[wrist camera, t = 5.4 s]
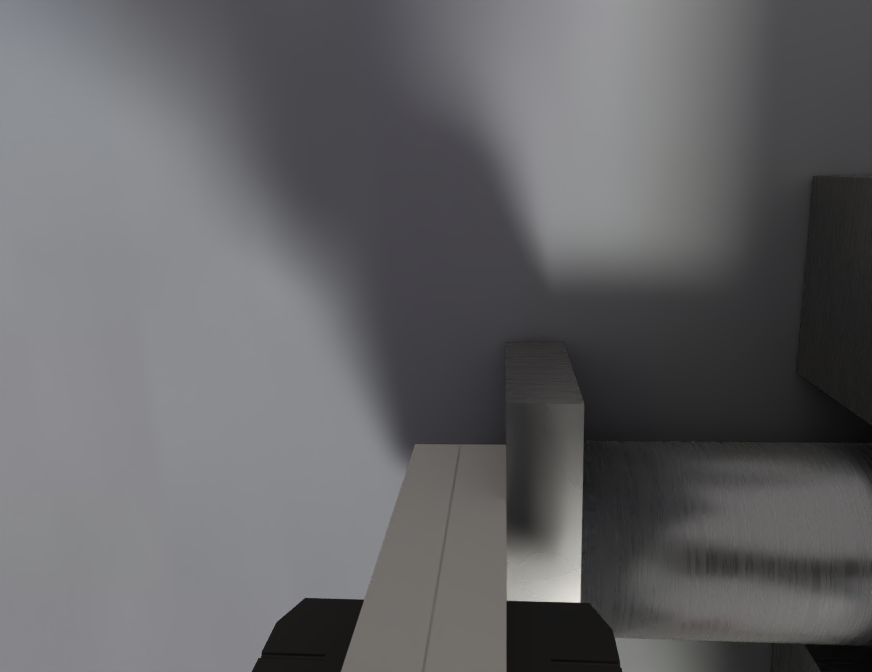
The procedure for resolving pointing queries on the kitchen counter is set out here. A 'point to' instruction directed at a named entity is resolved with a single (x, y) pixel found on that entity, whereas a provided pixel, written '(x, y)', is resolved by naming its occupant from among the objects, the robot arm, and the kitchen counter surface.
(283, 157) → the kitchen counter surface
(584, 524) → the pin
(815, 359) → the block
